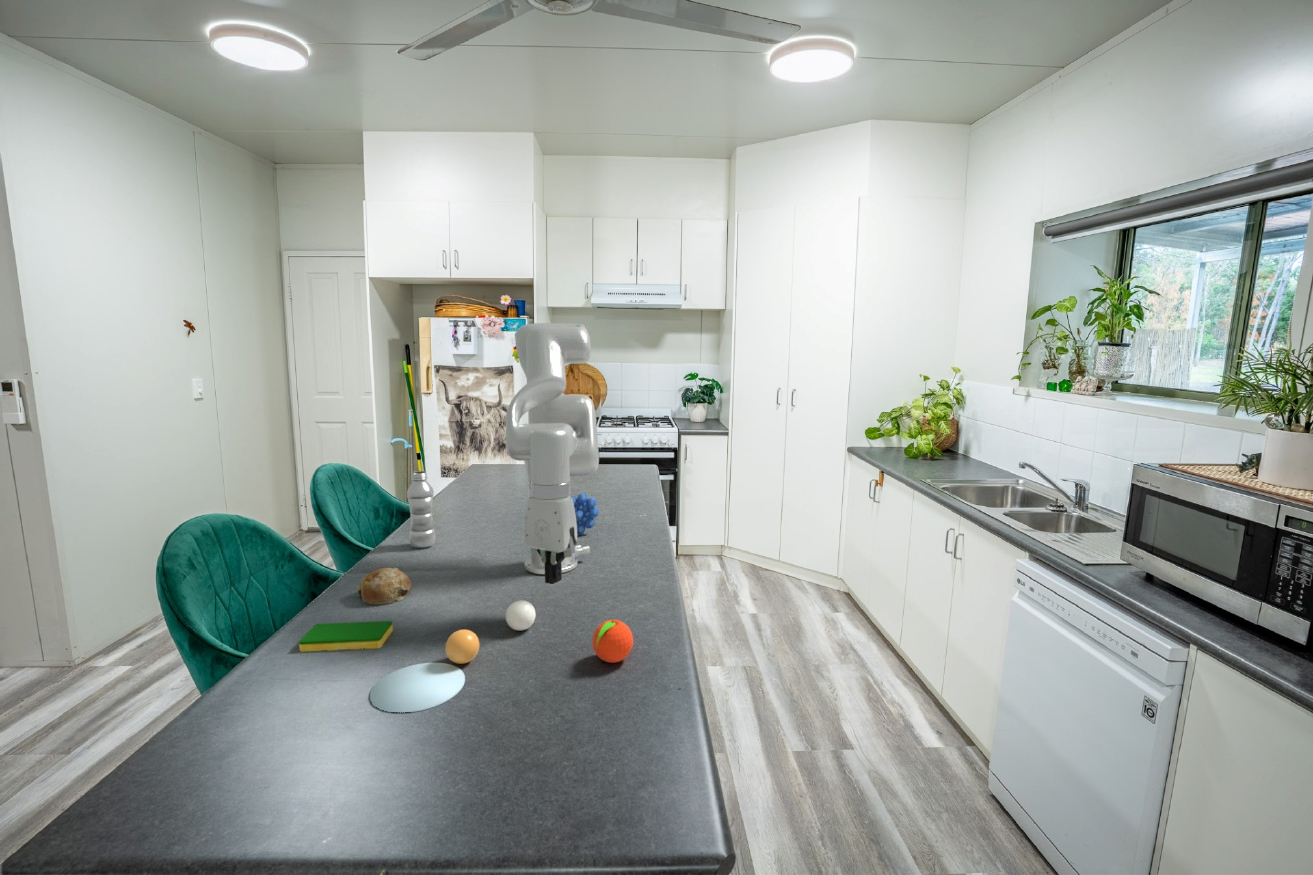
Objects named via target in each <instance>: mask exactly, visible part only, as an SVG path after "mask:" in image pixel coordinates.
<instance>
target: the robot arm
mask: <svg viewBox="0 0 1313 875" xmlns="http://www.w3.org/2000/svg"><path fill="white" fill-rule="evenodd" d="M514 339H515V348H516V353H517V354H516V355H517V357H518V361H519V363H520V366H521V368H522V370H523V373H524V374H525V378H526V384H525V385H524V386H522V387H521V388H520V389H519V390H518V392H517V393H516V394H515V395H514V396H513V398H512V400H511V401H510V402H509V405H508V406H507V410H506V413H505V447H506V448H505V449H506V453H507V455H508V456H509V457H510V459H512V460H515V461H519V462H520V461H521V462H522V461H523V463H524V467H525V472H526V478H527V490H528V498H527V499H528V500H527V503H526V509H525V521H524V522H525V525H524V533H525V534H524V541H525V544H526V545H527V546H528V547H530V557H528V558H527V559H526V560H525V561H524V568H525V570H526V571H528V572H530V573H533V574H536V575H544V583H546V584H549V585H555V584H556V583H558V582H560V581H562V579H563V578H562V577H563V576H562V575H563V574H564V573H567V572H569V571H572V570H573V569H575V568H576V567H577V566H578V557H579V556H581V555H588V554H590V553H591V549H590V548H591V547H590V546H589V545H584V546H582V545H581V544H577V543H578V535H577V523H576V514H575V508H574V503H573V499H572V498H570V497H571V477H572V476H573V477H574V476H576V477H577V476H587V475H592V474H594V473H596V471H597V470H598V468H599V463H600V454H599V441H598V440H599V439H598V438H599V437H598V429H597V427H598V426H597V416H596V409H595V405H594V402H593V400H592V398H590V397H589V396H587V395H585V394H565V393H564V392H565V390H566V388H567V378H566V377H567V376H566V375H567V374H566V365H567V364H570V365H571V364H573V365H575V364H576V365H577V364H580V365H581V364H585V363H587V362H588V361H589V359H590V357H591V352H592V347H591V346H592V344H591V338H590V334H589V331H588V330H587V328H586V327H585V325H584V324H582V323H575V322H573V323H572V322H571V323H570V322H567V323H566V322H565V323H561V322H559V323H558V322H556V323H555V322H539V323H538V322H536V323H528V324H524V325H522V326H520V327H519V328H518V329H517V330H516V333H515V338H514ZM526 413H528V419H529V420H528V421H529V423H520V420H521V418H522V417H523V416H525V414H526Z"/></svg>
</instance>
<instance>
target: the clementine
mask: <svg viewBox="0 0 1313 875" xmlns="http://www.w3.org/2000/svg"><path fill="white" fill-rule="evenodd" d="M633 637H634V636H633V633H632V630H631V629H630V627H629V626H628V625H627V624H625V622H622V621H620V620H618V619H609V620H606V621H604V622H602V623H601V624H599V625H598V626H597V628H596V629H595V631H594V633H593V635H592V647H593V648H592V649H593V651H594V652H595V654H596V656H597V657H598V658H599V659H600V660H602V661H604V662H606V663H608V664H609V663H610V664H611V663H613V664H614V663H619V662H621V661H623V660H626V659H625V658H627V657H628V656H629V654H630V653H631V650H632V648H633V645H634V638H633Z"/></svg>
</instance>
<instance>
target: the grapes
mask: <svg viewBox="0 0 1313 875" xmlns="http://www.w3.org/2000/svg"><path fill="white" fill-rule="evenodd" d="M570 498H572V499H573V503H574V508H575V514H576V523H577V536H582V535H583V534H584V533H585V531H586V529H592V528H593V527H594V526H595V524H596V519H595V518H597V517H598V516H599V514H600V509H599V508H598V507H597V506H596V505H597V499H596V498H595V497H588V495H587V493H584V492H583V493H579V494H578V495H577V497H575V496H570ZM595 506H596V507H595Z"/></svg>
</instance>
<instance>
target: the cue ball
mask: <svg viewBox="0 0 1313 875" xmlns="http://www.w3.org/2000/svg"><path fill="white" fill-rule="evenodd" d="M535 619H536V609H535V607H534V605H533V604H532V603H531V602H529V601H527V600H522V599H521V600H516V601H513V602H512V603H511V604H510V605H509V606H508V607H507V610H506V612H505V621H506V623H507V625H508V627H510V628H511V629H512V630H515V631H526V630H528V629H529V628H530V627H531V626H532V625H533V624H534V622H535Z"/></svg>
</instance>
